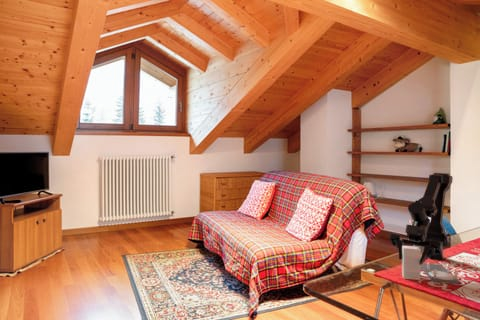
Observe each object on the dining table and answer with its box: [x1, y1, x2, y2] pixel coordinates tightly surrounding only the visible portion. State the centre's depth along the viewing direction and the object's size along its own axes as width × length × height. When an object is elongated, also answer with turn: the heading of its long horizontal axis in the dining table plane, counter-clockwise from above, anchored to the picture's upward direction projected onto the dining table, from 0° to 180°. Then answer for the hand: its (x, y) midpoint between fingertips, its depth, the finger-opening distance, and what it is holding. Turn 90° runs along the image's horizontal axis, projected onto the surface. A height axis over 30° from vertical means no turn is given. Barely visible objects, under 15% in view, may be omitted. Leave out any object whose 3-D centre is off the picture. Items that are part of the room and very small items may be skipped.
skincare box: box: [401, 245, 422, 281], centre depth 132 cm, size 6×4×12 cm
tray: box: [421, 261, 460, 285], centre depth 136 cm, size 18×9×5 cm, turn 168°
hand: (409, 261), depth 131 cm, fingers closed on skincare box, 7 cm apart
